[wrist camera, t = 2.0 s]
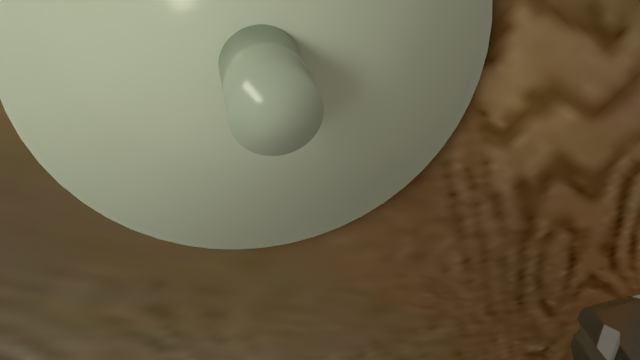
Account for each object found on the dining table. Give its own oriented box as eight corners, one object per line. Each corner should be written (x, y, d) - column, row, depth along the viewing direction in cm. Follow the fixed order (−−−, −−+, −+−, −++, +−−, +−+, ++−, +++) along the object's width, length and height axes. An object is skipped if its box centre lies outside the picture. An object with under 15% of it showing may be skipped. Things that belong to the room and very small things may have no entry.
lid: (466, 188, 31) (513, 257, 27) (91, 269, 29) (80, 357, 25) (500, -271, 19) (593, -274, 15) (-123, -197, 17) (-211, -176, 13)
